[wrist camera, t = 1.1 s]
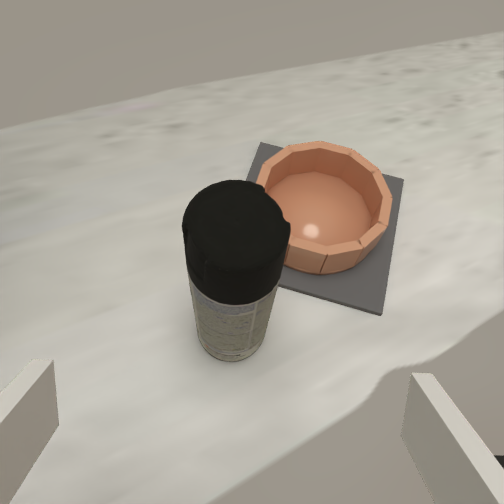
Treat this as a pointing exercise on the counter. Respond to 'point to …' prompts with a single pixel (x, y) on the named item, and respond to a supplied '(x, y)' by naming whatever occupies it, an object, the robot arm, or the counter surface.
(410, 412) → the robot arm
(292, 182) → the bowl
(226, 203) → the spray can
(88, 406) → the counter surface
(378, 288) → the mat
